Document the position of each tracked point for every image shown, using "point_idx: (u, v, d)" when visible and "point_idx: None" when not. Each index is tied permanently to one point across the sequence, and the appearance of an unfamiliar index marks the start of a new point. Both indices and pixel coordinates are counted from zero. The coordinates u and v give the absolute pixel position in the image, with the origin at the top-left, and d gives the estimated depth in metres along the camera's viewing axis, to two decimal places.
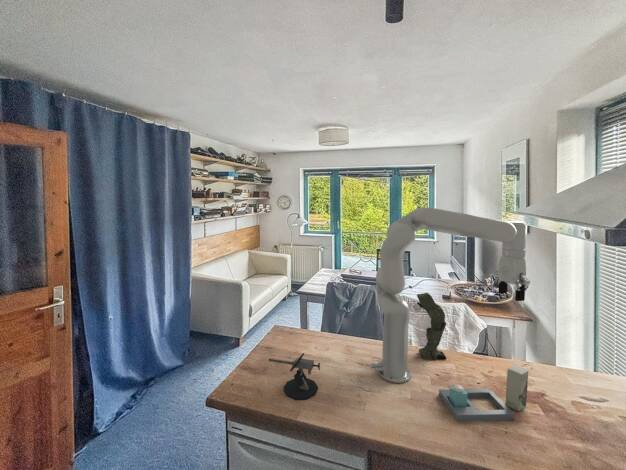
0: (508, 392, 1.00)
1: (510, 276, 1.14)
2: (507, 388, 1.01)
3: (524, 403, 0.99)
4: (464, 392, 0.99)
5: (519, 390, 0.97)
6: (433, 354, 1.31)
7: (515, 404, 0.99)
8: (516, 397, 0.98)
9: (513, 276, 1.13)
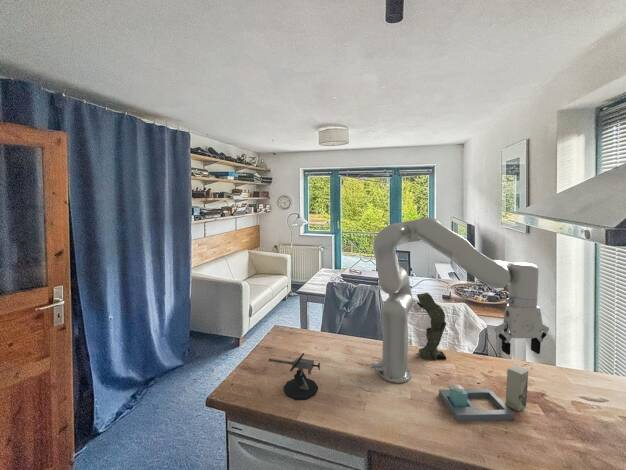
0: (508, 392, 1.00)
1: (537, 329, 0.96)
2: (507, 388, 1.01)
3: (524, 403, 0.99)
4: (464, 392, 0.99)
5: (519, 390, 0.97)
6: (433, 354, 1.31)
7: (515, 404, 0.99)
8: (516, 397, 0.98)
9: (541, 328, 0.96)
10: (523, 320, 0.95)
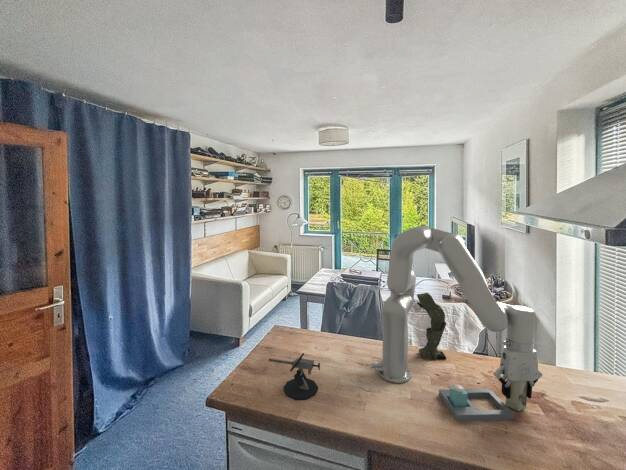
0: None
1: (533, 372, 0.97)
2: None
3: (524, 403, 0.99)
4: (464, 392, 0.99)
5: (519, 390, 0.97)
6: (433, 354, 1.31)
7: (515, 404, 0.99)
8: (516, 397, 0.98)
9: (537, 371, 0.97)
10: (519, 364, 0.97)
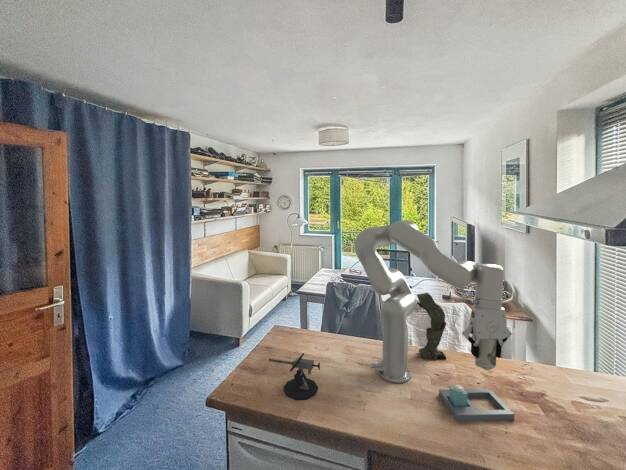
0: None
1: (501, 330, 0.96)
2: None
3: (493, 362, 0.98)
4: (464, 392, 0.99)
5: (488, 348, 0.96)
6: (433, 354, 1.31)
7: (484, 364, 0.97)
8: (485, 356, 0.97)
9: (505, 329, 0.96)
10: (488, 321, 0.95)
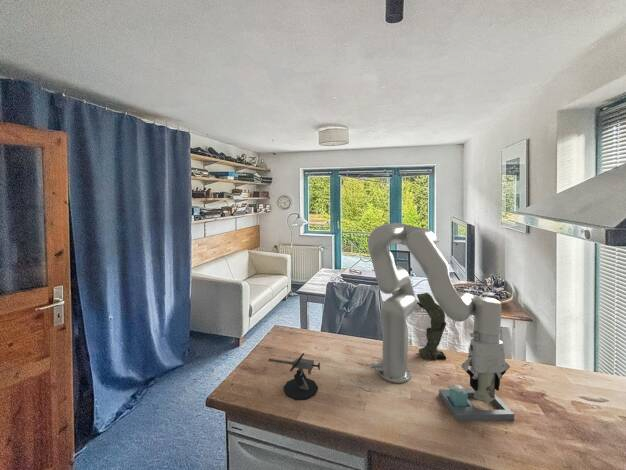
0: None
1: (499, 364, 0.97)
2: None
3: (492, 395, 0.99)
4: (464, 392, 0.99)
5: (486, 381, 0.97)
6: (433, 354, 1.31)
7: (483, 397, 0.98)
8: (483, 389, 0.98)
9: (503, 363, 0.97)
10: (486, 355, 0.96)
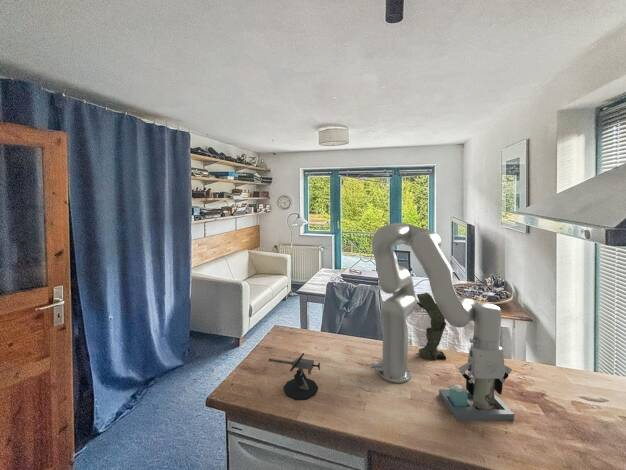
0: (475, 392, 1.00)
1: (499, 370, 0.97)
2: (474, 388, 1.01)
3: (491, 403, 0.99)
4: (464, 392, 0.99)
5: (486, 390, 0.97)
6: (433, 354, 1.31)
7: (482, 405, 0.99)
8: (482, 398, 0.98)
9: (503, 369, 0.97)
10: (486, 361, 0.96)
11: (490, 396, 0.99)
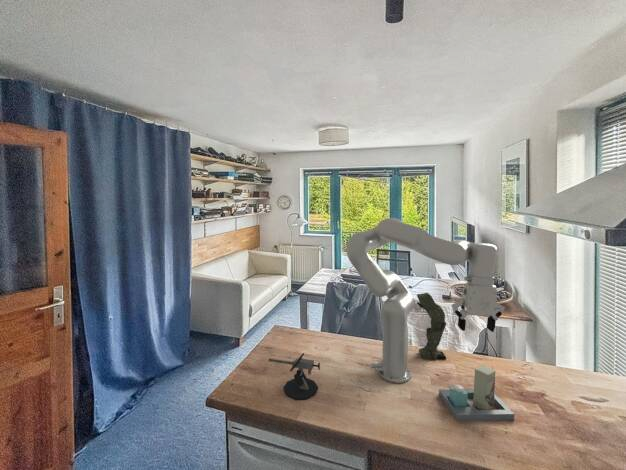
0: (475, 392, 1.00)
1: (491, 307, 0.99)
2: (474, 388, 1.01)
3: (491, 403, 0.99)
4: (464, 392, 0.99)
5: (486, 390, 0.97)
6: (433, 354, 1.31)
7: (482, 405, 0.99)
8: (483, 398, 0.98)
9: (496, 306, 0.99)
10: (479, 298, 0.98)
11: (490, 396, 0.99)
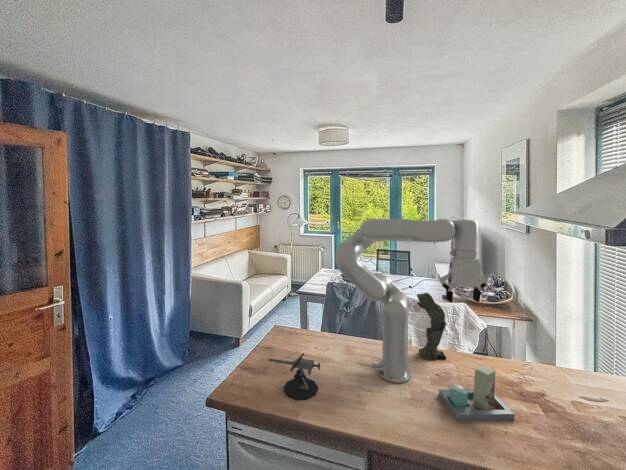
0: (475, 392, 1.00)
1: (476, 278, 1.06)
2: (474, 388, 1.01)
3: (491, 403, 0.99)
4: (464, 392, 0.99)
5: (486, 390, 0.97)
6: (433, 354, 1.31)
7: (482, 405, 0.99)
8: (483, 398, 0.98)
9: (480, 277, 1.06)
10: (464, 270, 1.06)
11: (490, 396, 0.99)
